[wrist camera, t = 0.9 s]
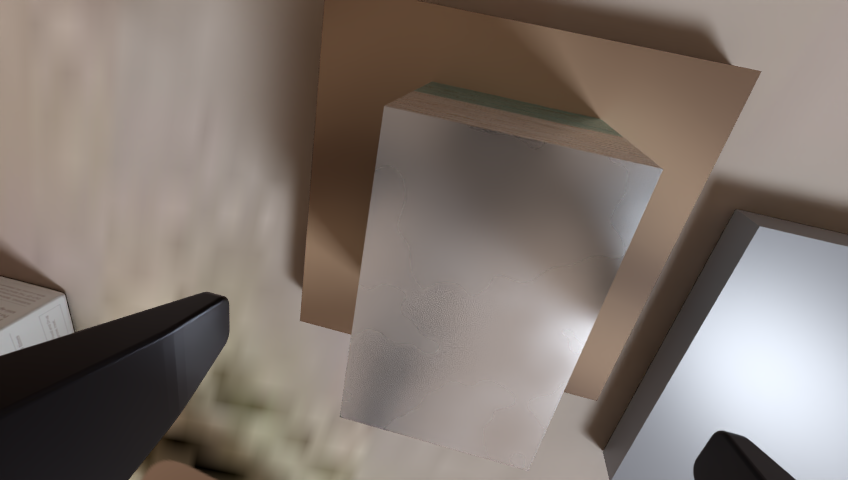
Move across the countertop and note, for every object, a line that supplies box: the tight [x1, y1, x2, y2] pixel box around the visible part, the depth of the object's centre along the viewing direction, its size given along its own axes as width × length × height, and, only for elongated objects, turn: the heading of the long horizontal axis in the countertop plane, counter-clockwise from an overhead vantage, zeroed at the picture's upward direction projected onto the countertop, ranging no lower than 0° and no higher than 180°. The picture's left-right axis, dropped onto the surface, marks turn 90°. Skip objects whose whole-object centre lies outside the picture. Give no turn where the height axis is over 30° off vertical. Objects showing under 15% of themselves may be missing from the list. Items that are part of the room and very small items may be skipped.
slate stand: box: [603, 209, 848, 480], centre depth 16 cm, size 12×12×2 cm
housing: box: [340, 82, 663, 471], centre depth 12 cm, size 8×5×6 cm, turn 169°
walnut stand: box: [300, 0, 761, 401], centre depth 15 cm, size 12×12×2 cm
